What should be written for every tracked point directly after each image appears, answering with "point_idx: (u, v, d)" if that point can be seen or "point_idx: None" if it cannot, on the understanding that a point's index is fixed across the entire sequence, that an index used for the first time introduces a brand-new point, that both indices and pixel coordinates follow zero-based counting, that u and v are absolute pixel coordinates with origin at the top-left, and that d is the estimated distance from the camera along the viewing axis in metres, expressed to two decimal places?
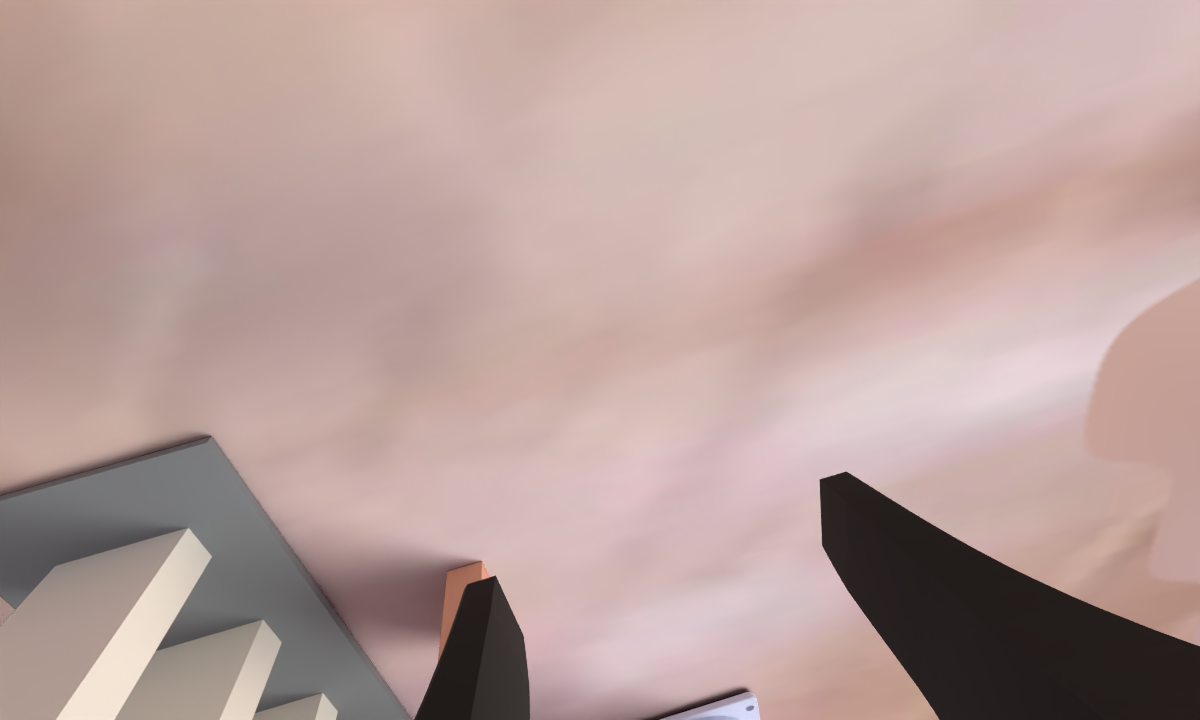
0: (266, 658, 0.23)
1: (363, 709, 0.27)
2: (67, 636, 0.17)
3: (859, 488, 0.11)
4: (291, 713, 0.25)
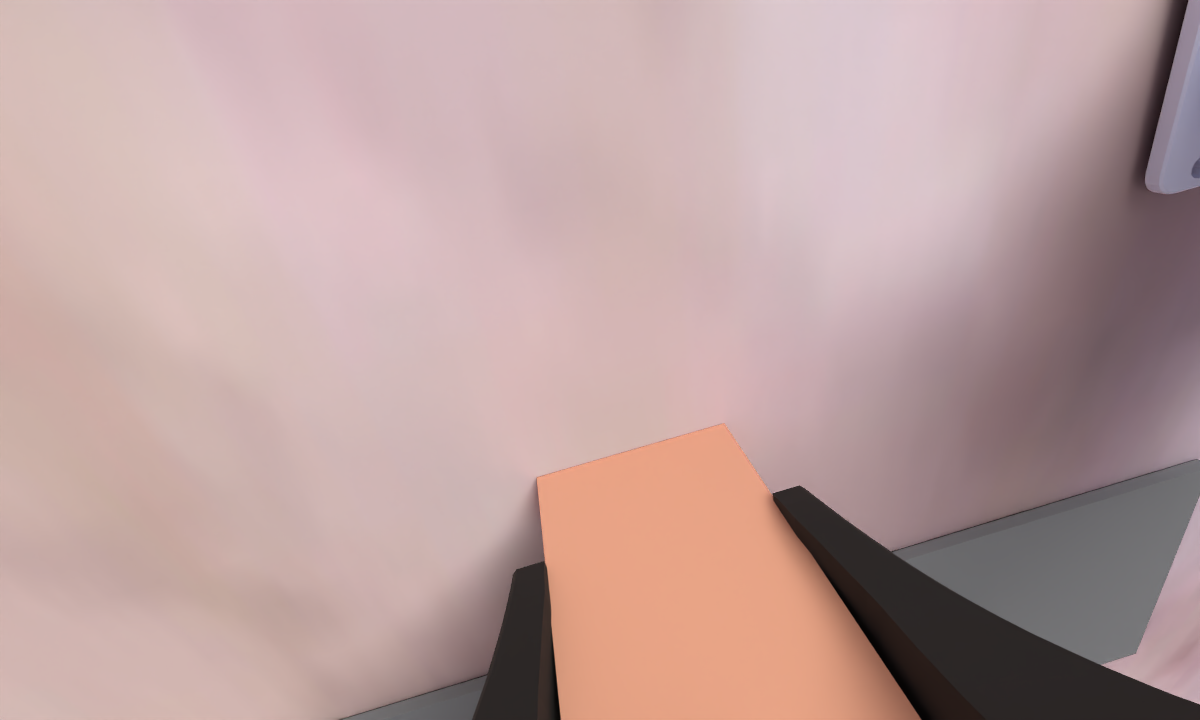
0: None
1: None
2: None
3: (809, 503, 0.11)
4: None
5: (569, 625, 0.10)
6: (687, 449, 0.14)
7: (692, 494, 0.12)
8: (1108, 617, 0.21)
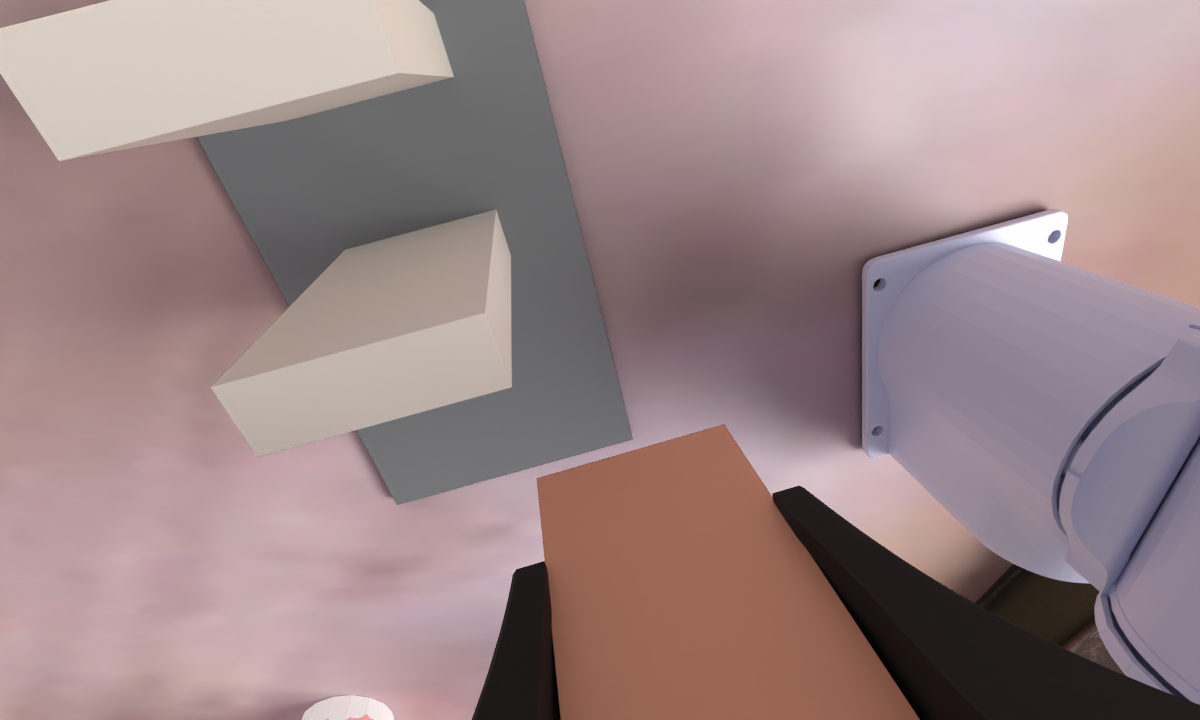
0: None
1: (494, 82, 0.16)
2: None
3: (809, 503, 0.11)
4: None
5: (569, 626, 0.10)
6: (687, 450, 0.14)
7: (691, 494, 0.12)
8: (457, 445, 0.22)
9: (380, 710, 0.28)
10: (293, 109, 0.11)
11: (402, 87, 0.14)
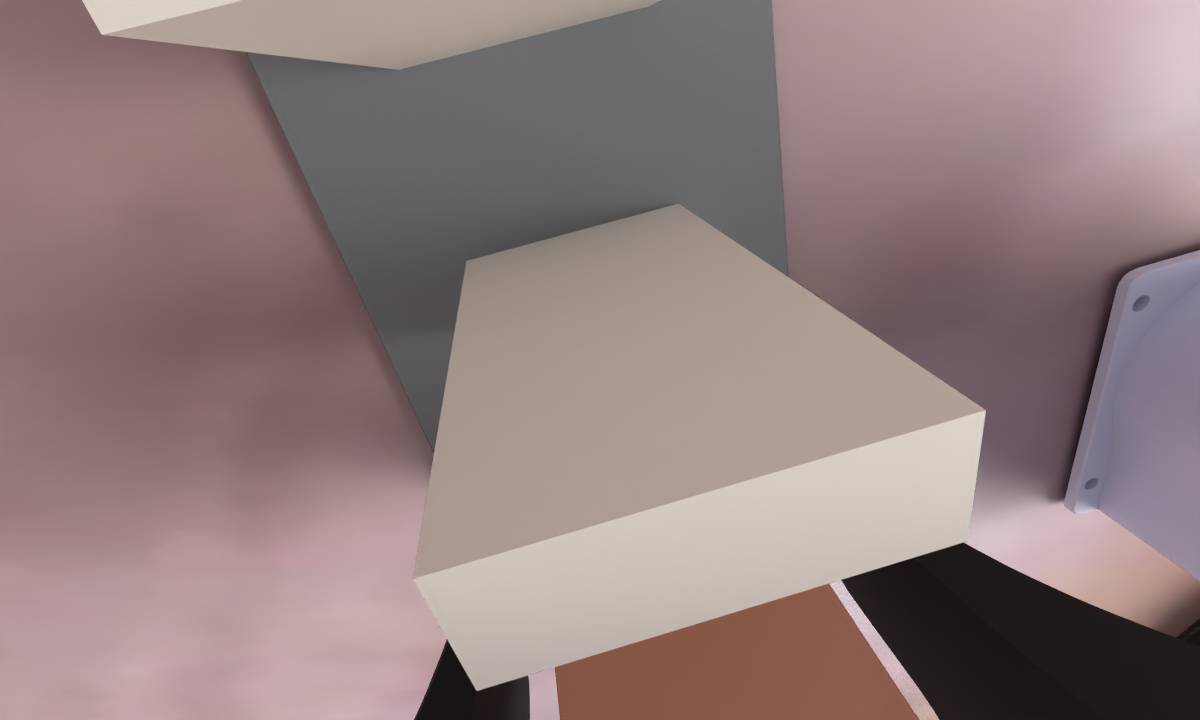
0: None
1: (703, 17, 0.11)
2: None
3: None
4: None
5: None
6: None
7: None
8: None
9: None
10: None
11: (620, 4, 0.09)
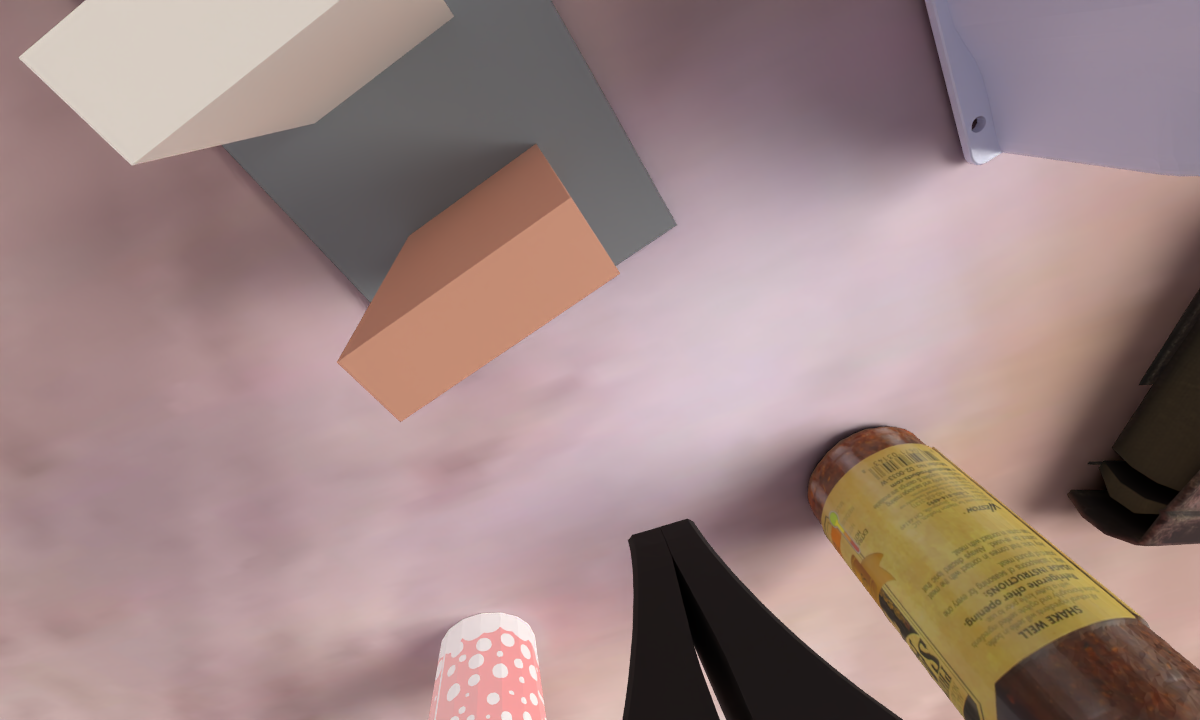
0: None
1: None
2: None
3: (689, 538, 0.11)
4: None
5: (394, 272, 0.14)
6: (505, 168, 0.17)
7: (495, 184, 0.15)
8: None
9: (514, 622, 0.26)
10: None
11: None
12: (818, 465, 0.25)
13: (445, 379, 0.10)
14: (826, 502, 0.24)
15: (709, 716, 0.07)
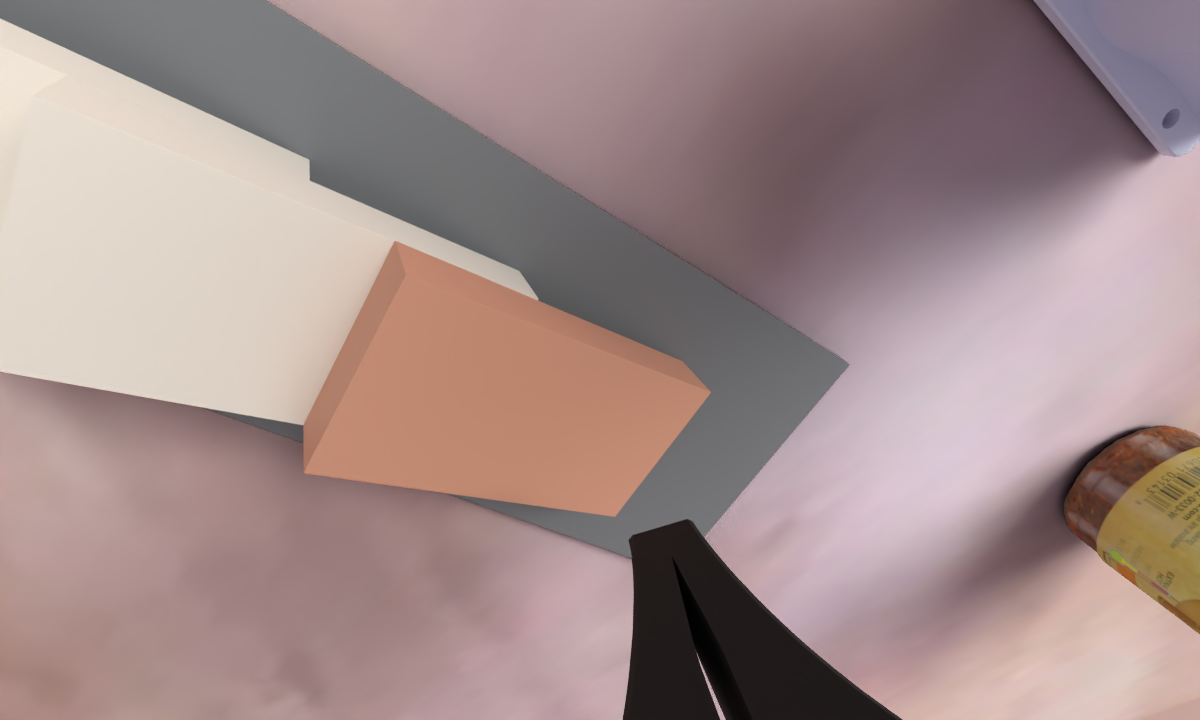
0: None
1: (427, 174, 0.13)
2: None
3: (689, 539, 0.11)
4: None
5: None
6: None
7: None
8: (682, 494, 0.19)
9: None
10: None
11: None
12: (1071, 495, 0.23)
13: (326, 423, 0.11)
14: (1099, 538, 0.22)
15: (710, 716, 0.07)
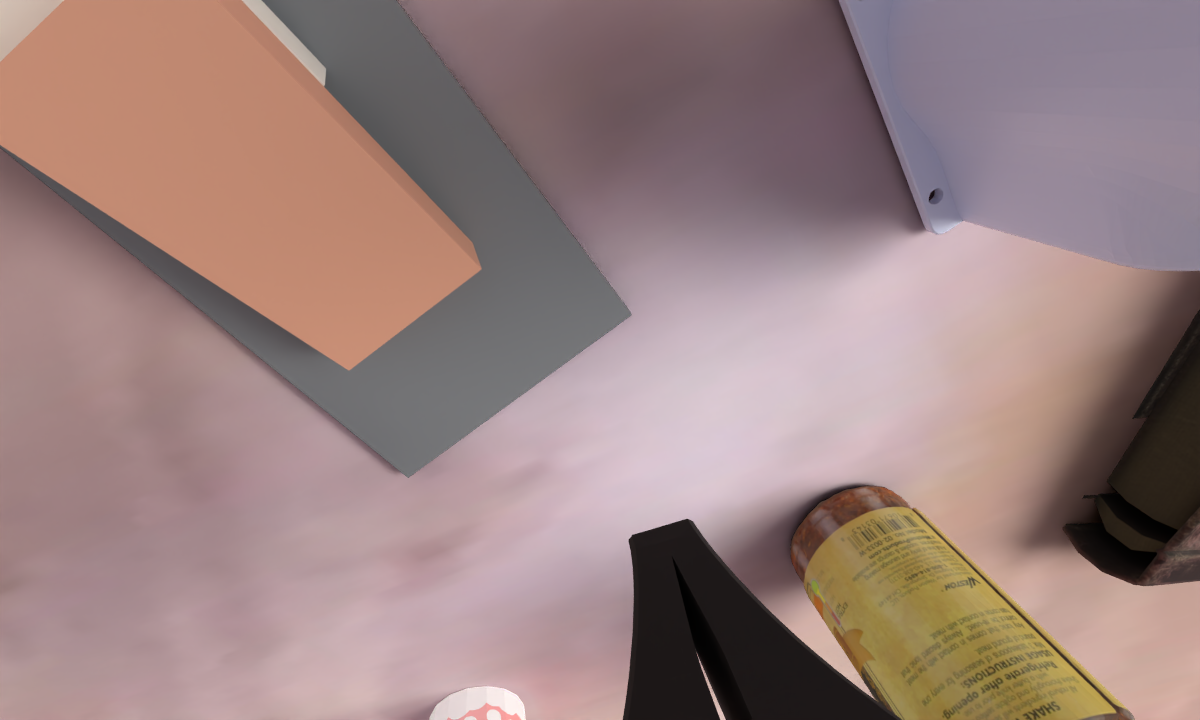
0: None
1: None
2: None
3: (689, 539, 0.11)
4: None
5: None
6: None
7: None
8: (438, 390, 0.19)
9: (501, 695, 0.26)
10: None
11: None
12: (799, 528, 0.25)
13: None
14: (807, 569, 0.23)
15: (710, 716, 0.07)
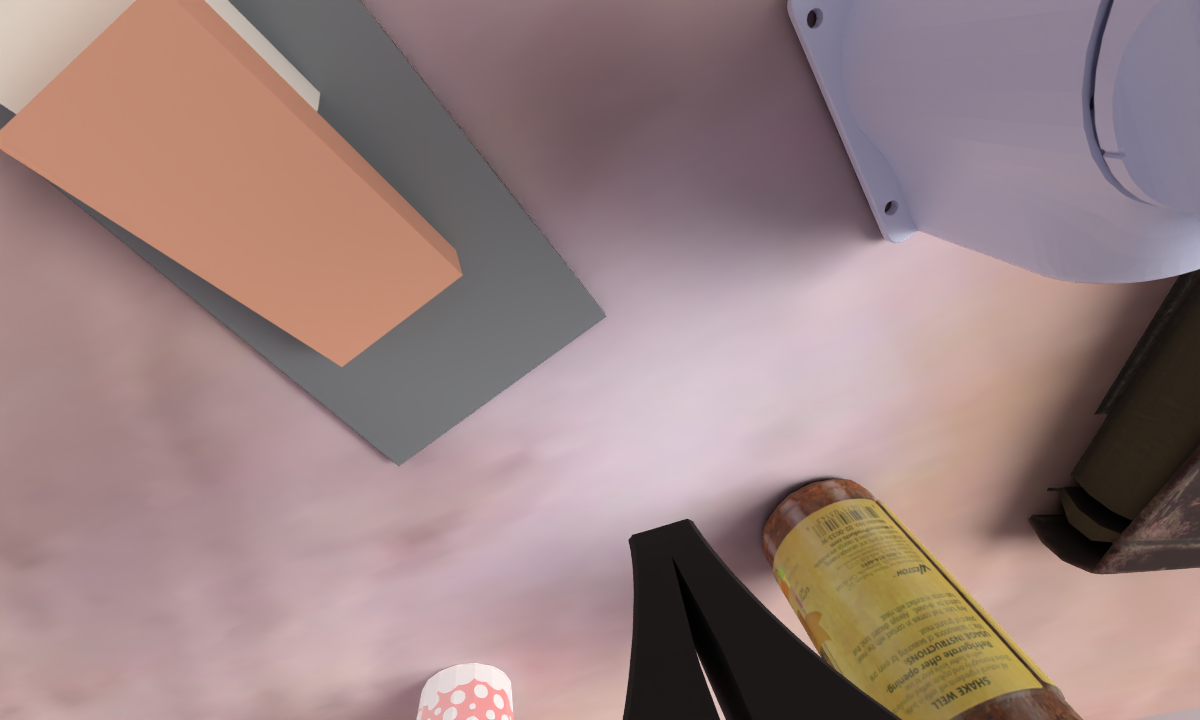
0: None
1: None
2: None
3: (689, 539, 0.11)
4: None
5: None
6: None
7: None
8: (425, 385, 0.20)
9: (488, 672, 0.28)
10: None
11: None
12: (769, 518, 0.26)
13: None
14: (775, 556, 0.25)
15: (709, 716, 0.07)
